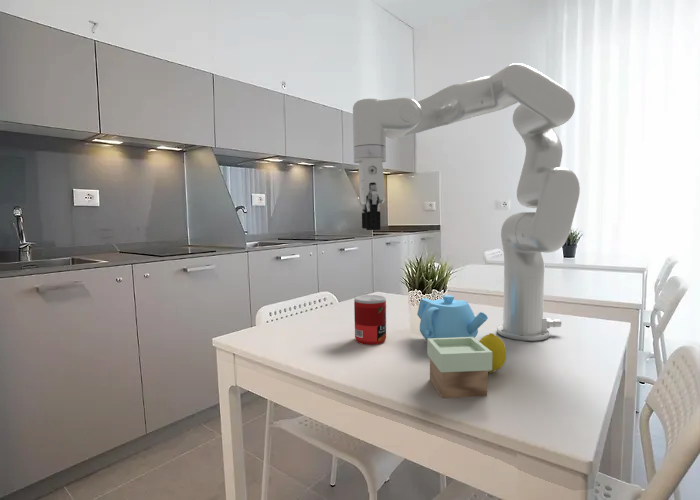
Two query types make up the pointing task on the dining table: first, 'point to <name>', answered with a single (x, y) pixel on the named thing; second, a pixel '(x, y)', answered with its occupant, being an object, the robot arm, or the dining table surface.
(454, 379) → the walnut block
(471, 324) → the teapot
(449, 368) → the sage top block
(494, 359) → the lemon
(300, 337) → the dining table surface
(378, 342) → the canned food
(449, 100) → the robot arm
